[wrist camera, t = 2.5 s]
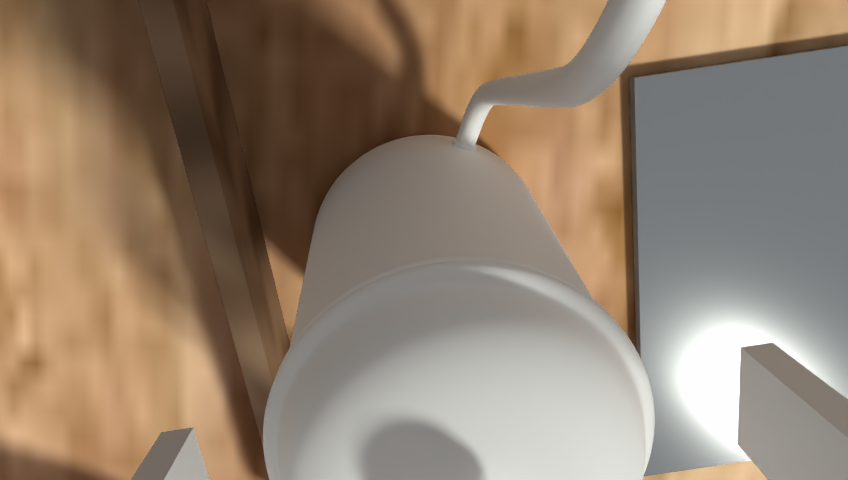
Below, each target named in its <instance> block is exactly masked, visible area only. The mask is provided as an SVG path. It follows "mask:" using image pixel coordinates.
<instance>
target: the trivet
mask: <svg viewBox="0 0 848 480" xmlns="http://www.w3.org/2000/svg"><path fill="white" fill-rule="evenodd" d="M629 87H630V126H631V165H632V204H633V242H634V281H635V320H636V350H637V352H638V354H639V356H640V358H641V360H642V362H643V365H644V367H645V370H646V373H647V375H648V379H649V382H650V386H651V391H652V396H653V402H654V413H655V427H654V438H653V445H652V450H651V454H650V458H649V462H648V465H647V468H646V471H645V473H644V476H649V475H656V474H663V473H670V472H676V471H683V470H690V469H696V468H703V467H710V466H716V465H723V464H730V463H737V462H743V461H750V460H751V459H750V458H749V457H748V456H747V455H746V453H745V452H744V451H743V450H742V449H741V448H740V447H739V445H738V413H739V381H740V350H741V347H746V346H753V345H760V344H767V343H774V344H775V345H776V346H778V347H779V348H780V349H782V350H783V351H784V352H786V353H787V354H788V355H790V356H791V357H792V358H794V359H795V360H796V361H798V362H799V363H800V364H802V365H803V366H804V367H805V368H807V369H808V370H809V371H811V372H812V373H813V374H815V375H816V376H817V377H819V378H820V379H821V380H823V381H824V382H825V383H827V384H828V385H829V386H830V387H832V388H833V389H834V390H836V391H837V392H838V393H840V394H841V395H842V396H844V397H845V398H846V399H848V45H843V46H836V47H830V48H823V49H816V50H810V51H803V52H796V53H789V54H783V55H776V56H769V57H763V58H756V59H749V60H743V61H736V62H729V63H723V64H716V65H709V66H702V67H696V68H689V69H682V70H676V71H669V72H662V73H656V74H649V75H642V76H636V77H629Z"/></svg>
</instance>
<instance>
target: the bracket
mask: <svg viewBox="0 0 848 480" xmlns="http://www.w3.org/2000/svg"><path fill="white" fill-rule="evenodd" d="M138 1H139V4H140V8H141V12H142V15H143V19H144V22H145V26H146V29H147V33H148V37H149V40H150V44H151V47H152V51H153V55H154V58H155V62H156V65H157V69H158V73H159V76H160V80H161V83H162V87H163V90H164V94H165V98H166V101H167V105H168V108H169V112H170V116H171V119H172V123H173V126H174V130H175V134H176V137H177V141H178V144H179V148H180V151H181V155H182V159H183V162H184V166H185V169H186V173H187V177H188V180H189V184H190V187H191V191H192V195H193V198H194V202H195V205H196V209H197V212H198V216H199V220H200V223H201V227H202V230H203V234H204V238H205V241H206V245H207V248H208V252H209V256H210V259H211V263H212V266H213V270H214V273H215V277H216V281H217V284H218V288H219V291H220V295H221V299H222V302H223V306H224V309H225V313H226V317H227V320H228V324H229V327H230V331H231V334H232V338H233V342H234V345H235V349H236V352H237V356H238V360H239V363H240V367H241V370H242V374H243V378H244V381H245V385H246V388H247V392H248V395H249V399H250V403H251V406H252V410H253V413H254V417H255V421H256V424H257V428H258V431H259V435H260V439H261V442H262V446H263V424H264V415H265V409H266V405H267V401H268V397H269V393H270V390H271V387H272V385H273V382H274V380H275V377H276V374H277V372H278V370H279V367H280V365H281V363H282V361H283V359H284V357H285V355H286V353H287V352H288V350H289V348H290V344H289V340H288V336H287V332H286V327H285V323H284V319H283V315H282V311H281V307H280V303H279V299H278V295H277V291H276V286H275V282H274V278H273V274H272V270H271V266H270V262H269V258H268V254H267V250H266V245H265V241H264V237H263V233H262V229H261V225H260V221H259V217H258V213H257V209H256V204H255V200H254V196H253V192H252V188H251V184H250V180H249V176H248V172H247V168H246V163H245V159H244V155H243V151H242V147H241V143H240V139H239V135H238V131H237V127H236V122H235V118H234V114H233V110H232V106H231V102H230V98H229V94H228V90H227V86H226V81H225V77H224V73H223V69H222V65H221V61H220V57H219V53H218V49H217V45H216V40H215V36H214V32H213V28H212V24H211V20H210V16H209V12H208V8H207V4H206V0H138Z"/></svg>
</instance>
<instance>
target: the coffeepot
mask: <svg viewBox="0 0 848 480" xmlns="http://www.w3.org/2000/svg"><path fill="white" fill-rule="evenodd" d="M665 2H666V0H608V2H607V4H606V6H605V8H604V10H603V12H602V14H601V16H600V18H599V20H598V22H597V24H596V25H595V27H594V29H593V31H592V33H591V34H590V36H589V38H588V39H587V41H586V43H585V44H584V46H583V47H582V48H581V50H580V51H579V52H578V54H577V55H576V56H575V57H574V58H573V59H572V61H570V62H569V63H568V64H567V65H565V66H563V67H559V68H554V69H550V70H544V71H539V72H533V73H527V74H522V75H516V76H511V77H505V78H500V79H495V80H492V81H489V82H486V83H484V84H482V85H481V86H480V87H479V88H478V89H477V90H476V92H475V93H474V95H473V96H472V98H471V100H470V102H469V104H468V106H467V109H466V111H465V114H464V116H463V119H462V122H461V125H460V128H459V131H458V134H457V137H456V138H455V137H450V136H443V135H417V136H410V137H404V138H400V139H396V140H393V141H390V142H387V143H385V144H382V145H380V146H378V147H376V148H374V149H372V150H370V151H369V152H367V153H365V154H364V155H362V156H361V157H360V158H358V159H357V160H355V161H354V162H353V163H352V164H351V165H350V166H348V167H347V168H346V169H345V170H344V171H343V172H342V174H341V175H340V176H339V177H338V178H337V179H336V181H335V182H334V183H333V185H332V186H331V188H330V189H329V191H328V193H327V194H326V196H325V198H324V200H323V202H322V204H321V207H320V209H319V212H318V215H317V218H316V222H315V226H314V231H313V236H312V240H311V245H310V250H309V255H308V260H307V265H306V270H305V275H304V280H303V285H302V290H301V295H300V300H299V305H298V310H297V315H296V319H295V324H294V329H293V334H292V339H291V344H290V348H289V350H288V352H287V353H286V355H285V357H284V359H283V361H282V363H281V365H280V367H279V370H278V372H277V374H276V377H275V380H274V382H273V385H272V387H271V390H270V393H269V397H268V401H267V405H266V409H265V415H264V424H263V449H264V458H265V464H266V469H267V473H268V477H269V480H643V476H644V473H645V471H646V468H647V465H648V462H649V458H650V454H651V450H652V445H653V438H654V427H655V413H654V402H653V396H652V391H651V386H650V382H649V379H648V375H647V373H646V370H645V367H644V365H643V362H642V360H641V358H640V356H639V354H638V352H637V350H636V349H635V347H634V345H633V343H632V342H631V340H630V339H629V337H628V336H627V334H626V333H625V332H624V331H623V329H622V328H621V327H620V326H619V325H618V323H617V322H616V321H615V320H614V319H613V317H612V316H611V315H610V314H609V313H608V312H607V311H606V310H605V309H604V308H603V307H602V306H601V305H600V304H599V303H598V302H597V301H596V300H594V299H593V298H592V296H591V295H590V293H589V291H588V290H587V288H586V286H585V284H584V283H583V281H582V279H581V278H580V276H579V274H578V272H577V271H576V269H575V267H574V266H573V264H572V262H571V260H570V259H569V257H568V255H567V254H566V252H565V250H564V248H563V247H562V245H561V243H560V242H559V240H558V238H557V236H556V235H555V233H554V231H553V230H552V228H551V226H550V225H549V223H548V221H547V219H546V218H545V216H544V214H543V213H542V211H541V209H540V207H539V206H538V204H537V202H536V201H535V199H534V197H533V195H532V194H531V192H530V190H529V189H528V187H527V186H526V184H525V183H524V181H523V180H522V179H521V177H520V176H519V175H518V174H517V173H516V172H515V171H514V170H513V169H512V168H511V167H510V166H509V165H508V164H507V163H506V162H505V161H504V160H502V159H501V158H500V157H498V156H497V155H495V154H494V153H492V152H491V151H489V150H487V149H485V148H483V147H481V146H479V145H477V144H476V142H477V139H478V136H479V133H480V130H481V128H482V125H483V123H484V120H485V118H486V116H487V114H488V112H489V111H490V109H491V108H492V106H493V105H512V106H532V107H552V108H560V107H576V106H579V105H582V104H584V103H587V102H589V101H591V100H592V99H594V98H595V97H597V96H599V95H600V94H601V93H602V92H603V91H605V90H606V89H607V88H608V87H609V86H610V85H611V84H612V83H613V82H614V81H615V80H616V79H617V78H618V77H619V76H620V74H621V73H622V72H623V71H624V70H625V69H626V67H627V66H628V64H629V63H630V62H631V60H632V59H633V57H634V56H635V54H636V53H637V52H638V50H639V48H640V47H641V45H642V43H643V42H644V40H645V38H646V37H647V35H648V34H649V32H650V30H651V28H652V26H653V25H654V23H655V21H656V19H657V17H658V15H659V13H660V12H661V10H662V8H663V6H664V4H665Z"/></svg>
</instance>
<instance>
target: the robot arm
mask: <svg viewBox="0 0 848 480" xmlns="http://www.w3.org/2000/svg"><path fill="white" fill-rule="evenodd" d="M738 445H739V447H740V448H741V449H742V450H743V451H744V452H745V453H746V455H747V456H748V457H749V458H750V459H751V460H752V461H753V463H754V464H755V465H756V466H757V467H758V468H759V469H760V471H761V472H762V473H763V474H764V475H765V476H766V477H767V479H768V480H848V399H846V398H845V397H844V396H842V395H841V394H840V393H838V392H837V391H836V390H834V389H833V388H832V387H830V386H829V385H828V384H827V383H825V382H824V381H823V380H821V379H820V378H819V377H817V376H816V375H815V374H813V373H812V372H811V371H809V370H808V369H807V368H805V367H804V366H803V365H802V364H800V363H799V362H798V361H796V360H795V359H794V358H792V357H791V356H790V355H788V354H787V353H786V352H784V351H783V350H782V349H780V348H779V347H778V346H776V345H775V344H774V343H767V344H760V345H753V346H746V347H741V350H740V381H739V413H738ZM131 480H209V477H208V473H207V470H206V467H205V464H204V461H203V457H202V454H201V451H200V448H199V445H198V441H197V438H196V435H195V432H194V429H193V428H187V429H180V430H174V431H167V432H161V434H160V435H159V437H158V438H157V440H156V441H155V443H154V445H153V446H152V448H151V449H150V451H149V452H148V454H147V456H146V457H145V459H144V460H143V462H142V463H141V465H140V467H139V468H138V470H137V471H136V473H135V474H134V476H133V477H132V479H131Z"/></svg>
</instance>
